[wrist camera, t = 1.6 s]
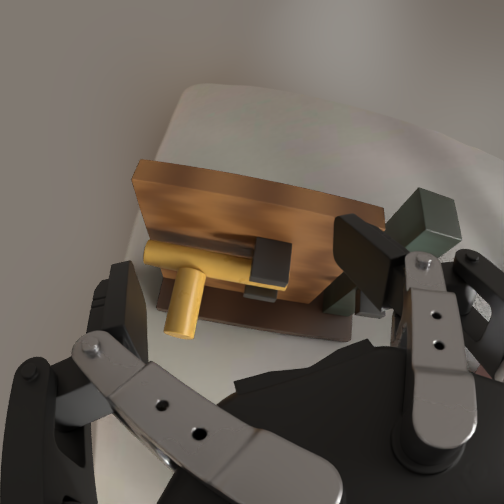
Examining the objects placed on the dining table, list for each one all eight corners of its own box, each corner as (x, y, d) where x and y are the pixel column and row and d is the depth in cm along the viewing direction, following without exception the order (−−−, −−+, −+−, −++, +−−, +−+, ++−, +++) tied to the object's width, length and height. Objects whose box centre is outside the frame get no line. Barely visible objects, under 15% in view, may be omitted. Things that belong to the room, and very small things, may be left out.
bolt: (131, 326, 20) (123, 320, 18) (152, 246, 23) (148, 234, 21) (274, 355, 21) (281, 351, 19) (284, 271, 23) (291, 261, 22)
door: (157, 310, 31) (100, 207, 13) (175, 240, 34) (154, 99, 17) (346, 342, 32) (474, 280, 15) (349, 273, 35) (451, 172, 18)
